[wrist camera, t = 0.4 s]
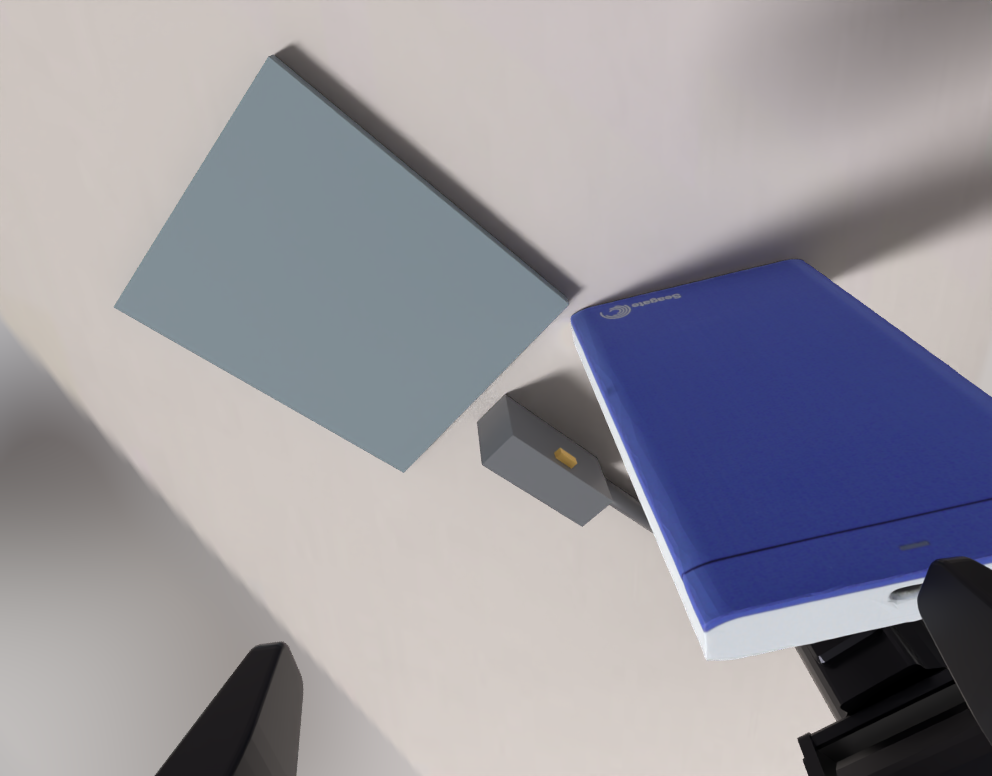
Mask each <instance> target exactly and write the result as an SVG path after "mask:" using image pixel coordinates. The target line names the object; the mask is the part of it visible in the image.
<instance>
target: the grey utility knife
mask: <svg viewBox="0 0 992 776" xmlns="http://www.w3.org/2000/svg"><path fill="white" fill-rule="evenodd" d="M477 426H478V435H479V444H480V452H481V461H482V465H483V466H485V467H486V468H488V469H490V470H491V471H493V472H494V473H496V474H498V475H499V476H501V477H502V478H504V479H506V480H507V481H509V482H511V483H512V484H514V485H515V486H517V487H519V488H520V489H522V490H524V491H525V492H527V493H528V494H530V495H532V496H533V497H535V498H537V499H538V500H540V501H541V502H543V503H545V504H546V505H548V506H549V507H551V508H553V509H554V510H556V511H558V512H559V513H561V514H562V515H564V516H566V517H567V518H569V519H571V520H572V521H574V522H575V523H577V524H579V525H580V526H582V527H583V526H584V525H585V524H586V523H587V522H589V521H590V520H591V519H592V518H594V517H595V516H596V515H597V514H598V513H600V512H601V511H602V510H603V509H604V508H606V507H607V506H608V505H611V506H612V507H614V508H615V509H617V510H618V511H620V512H621V513H623V514H624V515H626V516H627V517H629V518H630V519H632V520H633V521H635V522H636V523H638V524H640V525H641V526H643V527H644V528H646V529H647V530H649V531H650V532H652V533H653V531H652V529H651V527H650V524H649V522H648V519H647V517H646V514H645V512H644V510H643V507H642V505H641V503H640V502H639V501H638V500H636V499H635V498H633V497H632V496H630V495H629V494H627V493H626V492H624V491H623V490H621V489H620V488H619V487H617V486H616V485H614V484H613V483H611V482H610V481H608V480H607V479H605V478H604V475H603V472H602V469H601V467H600V464H599V461H598V459H597V458H596V457H595V456H593V455H592V454H591V453H589V452H588V451H586V450H585V449H583V448H582V447H580V446H579V445H578V444H576V443H575V442H573V441H572V440H570V439H569V438H567V437H566V436H565V435H563V434H562V433H560V432H559V431H557V430H556V429H554V428H553V427H552V426H550V425H549V424H547V423H546V422H544V421H543V420H542V419H540V418H539V417H537V416H536V415H534V414H533V413H531V412H530V411H529V410H527V409H526V408H524V407H523V406H521V405H520V404H518V403H517V402H516V401H514V400H513V399H511V398H510V397H508V396H507V395H506V394H505V395H504V396H503V397H502V398H501V399H500V400H499V401H498V402H497V403H496V404H495V405H494V406H493V407H492V408H491V409H490V410H489V411H488V412H487V413H486V414H485V415H484V416H483V417H482V418H481V419H480V420H479V421H478V422H477ZM653 534H654V533H653Z"/></svg>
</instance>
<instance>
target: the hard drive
mask: <svg viewBox="0 0 992 776" xmlns="http://www.w3.org/2000/svg"><path fill="white" fill-rule="evenodd" d="M571 329H572V334H573V341H574V345H575V347H576V349H577V352H578V354H579V357H580V359H581V361H582V364H583V366H584V368H585V371H586V373H587V376H588V378H589V381H590V383H591V385H592V388H593V390H594V392H595V395H596V398H597V400H598V402H599V404H600V407H601V410H602V412H603V414H604V417H605V419H606V421H607V423H608V426H609V429H610V431H611V433H612V435H613V438H614V440H615V443H616V445H617V448H618V450H619V452H620V455H621V457H622V459H623V462H624V465H625V467H626V470H627V472H628V474H629V477H630V479H631V481H632V484H633V486H634V489H635V491H636V493H637V496H638V498H639V500H640V503H641V505H642V507H643V510H644V512H645V514H646V517H647V519H648V522H649V524H650V527H651V529H652V531H653V533H654V536H655V538H656V541H657V543H658V546H659V548H660V551H661V553H662V555H663V558H664V560H665V562H666V565H667V567H668V569H669V572H670V574H671V576H672V578H673V581H674V583H675V586H676V588H677V590H678V593H679V595H680V597H681V600H682V602H683V605H684V607H685V610H686V612H687V615H688V617H689V620H690V622H691V625H692V627H693V629H694V631H695V634H696V636H697V638H698V640H699V643H700V645H701V648H702V650H703V653H704V656H705V659H706V660H707V661H710V660H716V661H720V660H734V659H740V658H745V657H749V656H755V655H759V654H764V653H769V652H773V651H777V650H782V649H786V648H791V647H796V646H802V645H807V644H812V643H816V642H820V641H824V640H829V639H834V638H838V637H842V636H846V635H851V634H855V633H860V632H864V631H869V630H873V629H878V628H883V627H887V626H892V625H896V624H901V623H905V622H913V621H917V620H921V619H922V618H921V615H920V613H919V610H918V605H917V597H918V594H919V591H920V589H921V586H922V584H923V581H924V579H925V576H926V573H927V571H928V568H929V566H930V564H931V563H932V562H933V561H934V560H936V559H940V558H948V557H956V556H964V557H968V558H971V559H973V560H975V561H977V562H979V563H981V564H983V565H985V566H986V567H988V568H990V569H992V397H991V396H989V395H988V394H986V393H985V392H984V391H982V390H981V389H980V388H978V387H977V386H975V385H974V384H973V383H971V382H970V381H968V380H967V379H966V378H964V377H963V376H961V375H960V374H959V373H958V372H956V371H955V370H954V369H952V368H951V367H950V366H949V365H947V364H946V363H944V362H943V361H941V360H940V359H939V358H937V357H936V356H934V355H933V354H932V353H930V352H929V351H928V350H926V349H925V348H924V347H922V346H921V345H919V344H918V343H917V342H915V341H914V340H912V339H911V338H910V337H909V336H907V335H906V334H905V333H903V332H902V331H900V330H899V329H897V328H896V327H895V326H893V325H892V324H890V323H889V322H888V321H886V320H885V319H884V318H882V317H881V316H879V315H878V314H877V313H875V312H874V311H873V310H871V309H870V308H868V307H867V306H866V305H864V304H863V303H861V302H860V301H859V300H857V299H856V298H854V297H853V296H852V295H851V294H849V293H848V292H846V291H845V290H843V289H842V288H841V287H839V286H838V285H836V284H835V283H833V282H832V281H831V280H830V279H828V278H827V277H826V276H824V275H823V274H821V273H820V272H819V271H817V270H816V269H814V268H813V267H812V266H810V265H809V264H807V263H805V262H804V261H803V260H799V259H789V260H785V261H780V262H776V263H773V264H768V265H764V266H760V267H754V268H751V269H747V270H742V271H738V272H734V273H729V274H726V275H722V276H717V277H713V278H709V279H705V280H702V281H697V282H692V283H689V284H684V285H680V286H677V287H673V288H668V289H664V290H660V291H653V292H650V293H647V294H643V295H638V296H634V297H630V298H627V299H622V300H618V301H614V302H610V303H606V304H601V305H597V306H593V307H589V308H586V309H583V310H580V311H579V312H577V313H575V314H574V315H572V316H571Z"/></svg>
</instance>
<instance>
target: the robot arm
mask: <svg viewBox="0 0 992 776" xmlns="http://www.w3.org/2000/svg"><path fill="white" fill-rule="evenodd" d="M917 605H918V610H919V613H920V615H921V618H922V619H921V620H917V621H913V622H905V623H901V624H896V625H892V626H887V627H883V628H878V629H873V630H869V631H864V632H860V633H855V634H851V635H846V636H842V637H838V638H834V639H829V640H824V641H820V642H816V643H812V644H807V645H802V646H796V647H795V648H796V650H797V652H798V653H799V655H800V657H801V659H802V661H803V662H804V664H805V666H806V668H807V669H808V671H809V673H810V675H811V677H812V678H813V680H814V682H815V684H816V686H817V687H818V689H819V691H820V693H821V694H822V696H823V698H824V700H825V702H826V703H827V705H828V707H829V709H830V710H831V712H832V714H833V716H834V718H835V719H836V721H837V722H835V723H833V724H831V725H829V726H827V727H825V728H823V729H821V730H819V731H817V732H814V733H812V734H811V733H807V734H805V735H803V736H801V737H799V738H798V742H799V745H800V747H801V750H802V753H803V755H804V758H803V762H804V765H805V768H806V770H807V773H808V776H992V569H990V568H988V567H986V566H985V565H983V564H981V563H979V562H977V561H975V560H973V559H971V558H968V557H964V556H956V557H948V558H940V559H936V560H934V561H933V562H932V563H931V564H930V566H929V568H928V571H927V573H926V576H925V579H924V581H923V584H922V586H921V589H920V591H919V594H918V597H917ZM302 702H303V681H302V676H301V674H300V671H299V669H298V667H297V664H296V662H295V660H294V658H293V655H292V653H291V651H290V648H289V647H288V645H287V644H286V643H284V642H274V643H266V644H260V645H257V646H255V647H254V648H252V649H251V651H250V652H249V653H248V654H247V655H246V657H245V658H244V659H243V661H242V662H241V664H240V665H239V666H238V667H237V669H236V670H235V671H234V672H233V674H232V675H231V676H230V678H229V679H228V680H227V682H226V683H225V684H224V686H223V687H222V688H221V690H220V691H219V692H218V693H217V695H216V696H215V697H214V699H213V700H212V701H211V703H210V704H209V705H208V707H207V708H206V709H205V710H204V712H203V713H202V714H201V716H200V717H199V718H198V720H197V721H196V722H195V724H194V725H193V726H192V727H191V729H190V730H189V731H188V733H187V734H186V735H185V737H184V738H183V739H182V741H181V742H180V743H179V745H178V746H177V747H176V749H175V750H174V751H173V752H172V754H171V755H170V756H169V758H168V759H167V760H166V762H165V763H164V764H163V765H162V767H161V768H160V769H159V771H158V772H157V773H156V775H155V776H296V773H297V761H298V750H299V736H300V726H301V713H302Z"/></svg>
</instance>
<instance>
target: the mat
mask: <svg viewBox="0 0 992 776" xmlns="http://www.w3.org/2000/svg"><path fill="white" fill-rule="evenodd" d="M568 305H569V303H568V300H567V298H566V296H564V295H563V294H562V293H561V292H560V291H558V290H557V289H556V288H555V287H553V286H552V285H551V284H550V283H549V282H547V281H546V280H545V279H544V278H543V277H541V276H540V275H539V274H538V273H537V272H535V271H534V270H533V269H532V268H531V267H529V266H528V265H527V264H526V263H525V262H523V261H522V260H521V259H520V258H518V257H517V256H516V255H515V254H514V253H512V252H511V251H510V250H509V249H508V248H506V247H505V246H504V245H503V244H502V243H500V242H499V241H498V240H497V239H496V238H494V237H493V236H492V235H491V234H489V233H488V232H487V231H486V230H485V229H483V228H482V227H481V226H480V225H479V224H477V223H476V222H475V221H474V220H473V219H471V218H470V217H469V216H468V215H467V214H465V213H464V212H463V211H462V210H461V209H459V208H458V207H457V206H456V205H454V204H453V203H452V202H451V201H450V200H448V199H447V198H446V197H445V196H444V195H442V194H441V193H440V192H439V191H438V190H436V189H435V188H434V187H433V186H432V185H430V184H429V183H428V182H427V181H425V180H424V179H423V178H422V177H421V176H419V175H418V174H417V173H416V172H415V171H413V170H412V169H411V168H410V167H409V166H407V165H406V164H405V163H404V162H403V161H401V160H400V159H399V158H398V157H397V156H395V155H394V154H393V153H392V152H390V151H389V150H388V149H387V148H386V147H384V146H383V145H382V144H381V143H380V142H378V141H377V140H376V139H375V138H374V137H372V136H371V135H370V134H369V133H368V132H366V131H365V130H364V129H363V128H361V127H360V126H359V125H358V124H357V123H355V122H354V121H353V120H352V119H351V118H349V117H348V116H347V115H346V114H345V113H343V112H342V111H341V110H340V109H339V108H337V107H336V106H335V105H334V104H333V103H331V102H330V101H329V100H328V99H326V98H325V97H324V96H323V95H322V94H320V93H319V92H318V91H317V90H316V89H314V88H313V87H312V86H311V85H310V84H308V83H307V82H306V81H305V80H304V79H302V78H301V77H300V76H299V75H297V74H296V73H295V72H294V71H293V70H291V69H290V68H289V67H288V66H287V65H285V64H284V63H283V62H282V61H281V60H279V59H278V58H277V57H276V56H275V55H271V56H269V57H268V58H267V60H266V61H265V63H264V65H263V66H262V68H261V70H260V71H259V73H258V74H257V76H256V78H255V79H254V81H253V82H252V84H251V86H250V87H249V89H248V91H247V92H246V94H245V95H244V97H243V99H242V100H241V102H240V104H239V105H238V107H237V108H236V110H235V112H234V113H233V115H232V116H231V118H230V120H229V121H228V123H227V125H226V126H225V128H224V129H223V131H222V133H221V134H220V136H219V137H218V139H217V141H216V142H215V144H214V146H213V147H212V149H211V150H210V152H209V154H208V155H207V157H206V158H205V160H204V162H203V163H202V165H201V167H200V168H199V170H198V171H197V173H196V175H195V176H194V178H193V180H192V181H191V183H190V184H189V186H188V188H187V189H186V191H185V192H184V194H183V196H182V197H181V199H180V201H179V202H178V204H177V205H176V207H175V209H174V210H173V212H172V213H171V215H170V217H169V218H168V220H167V222H166V223H165V225H164V226H163V228H162V230H161V231H160V233H159V235H158V236H157V238H156V239H155V241H154V243H153V244H152V246H151V247H150V249H149V251H148V252H147V254H146V256H145V257H144V259H143V260H142V262H141V264H140V265H139V267H138V268H137V270H136V272H135V273H134V275H133V277H132V278H131V280H130V281H129V283H128V285H127V286H126V288H125V290H124V291H123V293H122V294H121V296H120V298H119V299H118V301H117V302H116V304H115V306H114V308H116V309H118V310H119V311H121V312H123V313H125V314H126V315H128V316H130V317H132V318H133V319H135V320H137V321H139V322H140V323H142V324H144V325H146V326H147V327H149V328H151V329H153V330H154V331H156V332H158V333H160V334H161V335H163V336H165V337H167V338H168V339H170V340H172V341H174V342H175V343H177V344H179V345H181V346H182V347H184V348H186V349H188V350H189V351H191V352H193V353H195V354H196V355H198V356H200V357H202V358H203V359H205V360H207V361H209V362H210V363H212V364H214V365H216V366H217V367H219V368H221V369H223V370H224V371H226V372H228V373H230V374H232V375H233V376H235V377H237V378H239V379H240V380H242V381H244V382H246V383H247V384H249V385H251V386H253V387H254V388H256V389H258V390H260V391H261V392H263V393H265V394H267V395H268V396H270V397H272V398H274V399H275V400H277V401H279V402H281V403H282V404H284V405H286V406H288V407H289V408H291V409H293V410H295V411H296V412H298V413H300V414H302V415H303V416H305V417H307V418H309V419H310V420H312V421H314V422H316V423H317V424H319V425H321V426H323V427H324V428H326V429H328V430H330V431H331V432H333V433H335V434H337V435H338V436H340V437H342V438H344V439H345V440H347V441H349V442H351V443H352V444H354V445H356V446H358V447H359V448H361V449H363V450H365V451H366V452H368V453H370V454H372V455H373V456H375V457H377V458H379V459H381V460H382V461H384V462H386V463H388V464H389V465H391V466H393V467H395V468H396V469H398V470H400V471H402V472H403V473H404V472H405V471H406V470H407V469H408V468H409V467H410V466H411V465H412V464H413V463H414V462H415V461H416V460H417V459H418V458H419V457H420V456H421V455H422V454H423V453H424V452H425V451H426V450H427V449H428V448H429V447H430V446H431V444H432V443H433V442H434V441H435V440H436V439H437V438H438V437H439V436H440V435H441V434H442V433H443V432H444V431H445V430H446V429H447V428H448V427H449V426H450V425H451V424H452V423H453V422H454V421H455V420H456V419H457V418H458V417H459V416H460V415H461V414H462V413H463V412H464V411H465V410H466V409H467V408H468V407H469V406H470V405H471V404H472V403H473V402H474V401H475V400H476V399H477V398H478V397H479V396H480V395H481V394H482V393H483V392H484V391H485V389H486V388H487V387H488V386H489V385H490V384H491V383H492V382H493V381H494V380H495V379H496V378H497V377H498V376H499V375H500V374H501V373H502V372H503V371H504V370H505V369H506V368H507V367H508V366H509V365H510V364H511V363H512V362H513V361H514V360H515V359H516V358H517V357H518V356H519V355H520V354H521V353H522V352H523V351H524V350H525V349H526V348H527V347H528V346H529V345H530V344H531V343H532V342H533V341H534V340H535V339H536V338H537V337H538V336H539V335H540V333H541V332H542V331H543V330H544V329H545V328H546V327H547V326H548V325H549V324H550V323H551V322H552V321H553V320H554V319H555V318H556V317H557V316H558V315H559V314H560V313H561V312H562V311H563V310H564V309H565V308H566V307H567V306H568Z"/></svg>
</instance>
